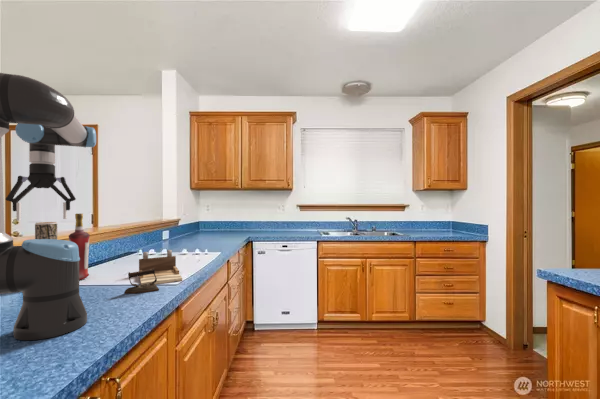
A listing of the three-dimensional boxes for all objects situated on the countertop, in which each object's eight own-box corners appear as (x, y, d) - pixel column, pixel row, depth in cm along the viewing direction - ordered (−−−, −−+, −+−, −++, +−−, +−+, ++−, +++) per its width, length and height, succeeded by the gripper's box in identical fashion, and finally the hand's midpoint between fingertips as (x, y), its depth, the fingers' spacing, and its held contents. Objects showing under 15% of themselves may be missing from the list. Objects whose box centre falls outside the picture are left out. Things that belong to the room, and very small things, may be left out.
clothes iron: (161, 291, 115) (155, 267, 113) (128, 304, 108) (120, 279, 106) (157, 285, 120) (151, 262, 118) (125, 297, 114) (118, 273, 112)
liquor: (67, 278, 132) (67, 213, 132) (88, 275, 137) (87, 213, 137) (69, 282, 126) (69, 214, 126) (91, 278, 131) (90, 213, 131)
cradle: (182, 280, 128) (182, 256, 128) (141, 286, 120) (141, 260, 120) (175, 270, 145) (175, 249, 145) (139, 275, 138) (138, 252, 138)
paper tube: (59, 285, 121) (58, 222, 121) (36, 289, 116) (36, 223, 116) (55, 282, 126) (55, 221, 126) (34, 285, 121) (33, 222, 121)
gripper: (83, 166, 126) (83, 218, 126) (1, 163, 113) (1, 220, 113) (81, 164, 120) (81, 218, 120) (-6, 160, 107) (-6, 221, 107)
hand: (42, 219), depth 117 cm, fingers open, 13 cm apart
